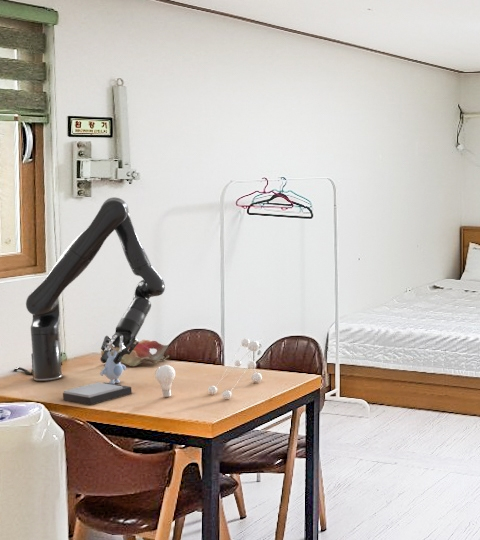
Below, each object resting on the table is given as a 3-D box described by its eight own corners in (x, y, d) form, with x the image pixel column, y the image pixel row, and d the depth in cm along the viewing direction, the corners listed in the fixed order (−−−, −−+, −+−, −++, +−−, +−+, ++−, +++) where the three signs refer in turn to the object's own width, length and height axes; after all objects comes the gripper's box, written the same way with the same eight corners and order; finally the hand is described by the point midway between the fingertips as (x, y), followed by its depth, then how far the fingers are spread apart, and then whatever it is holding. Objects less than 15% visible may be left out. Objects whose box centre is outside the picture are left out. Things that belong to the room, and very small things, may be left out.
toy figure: (107, 387, 307) (104, 354, 305) (95, 385, 310) (93, 352, 309) (132, 381, 316) (130, 348, 314) (121, 379, 319) (119, 347, 318)
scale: (63, 400, 291) (62, 390, 291) (104, 389, 305) (104, 380, 304) (90, 405, 284) (89, 395, 284) (131, 393, 298) (131, 384, 298)
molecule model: (275, 387, 310) (282, 341, 305) (225, 408, 288) (232, 358, 283) (244, 374, 315) (250, 328, 310) (193, 393, 293) (199, 344, 288)
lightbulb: (170, 394, 297) (168, 362, 295) (180, 396, 293) (178, 364, 291) (153, 397, 292) (151, 365, 291) (163, 400, 288) (161, 368, 287)
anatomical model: (141, 370, 332) (135, 345, 331) (97, 376, 343) (91, 351, 342) (185, 355, 352) (179, 331, 352) (141, 361, 363) (136, 337, 362)
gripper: (109, 316, 320) (86, 355, 310) (141, 318, 315) (119, 357, 305) (120, 328, 325) (99, 366, 315) (152, 330, 320) (131, 369, 311)
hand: (109, 362), depth 310 cm, fingers open, 5 cm apart
